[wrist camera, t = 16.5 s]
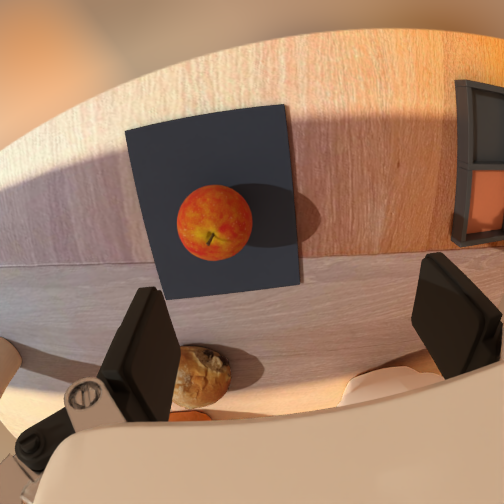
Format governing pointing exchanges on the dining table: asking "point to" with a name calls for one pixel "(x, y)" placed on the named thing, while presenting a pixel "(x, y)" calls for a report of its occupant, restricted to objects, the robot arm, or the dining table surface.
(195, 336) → the dining table surface
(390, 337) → the dining table surface
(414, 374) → the bowl
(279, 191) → the mat
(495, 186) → the tray
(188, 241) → the fruit
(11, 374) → the candle
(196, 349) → the bread roll
